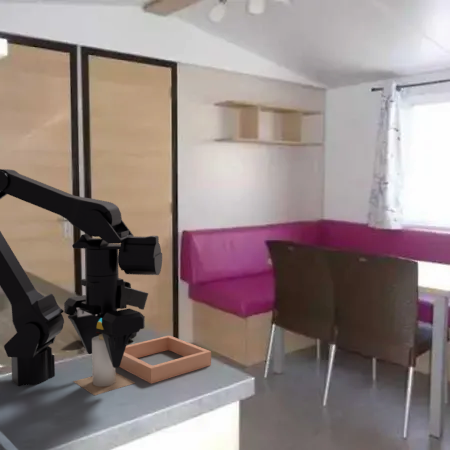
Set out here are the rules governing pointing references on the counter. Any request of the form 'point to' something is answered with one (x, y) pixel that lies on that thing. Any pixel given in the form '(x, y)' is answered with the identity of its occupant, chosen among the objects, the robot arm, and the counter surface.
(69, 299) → the robot arm
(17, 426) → the counter surface
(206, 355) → the salmon square tray
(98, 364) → the white cylinder with knob
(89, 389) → the brown flat square pad
